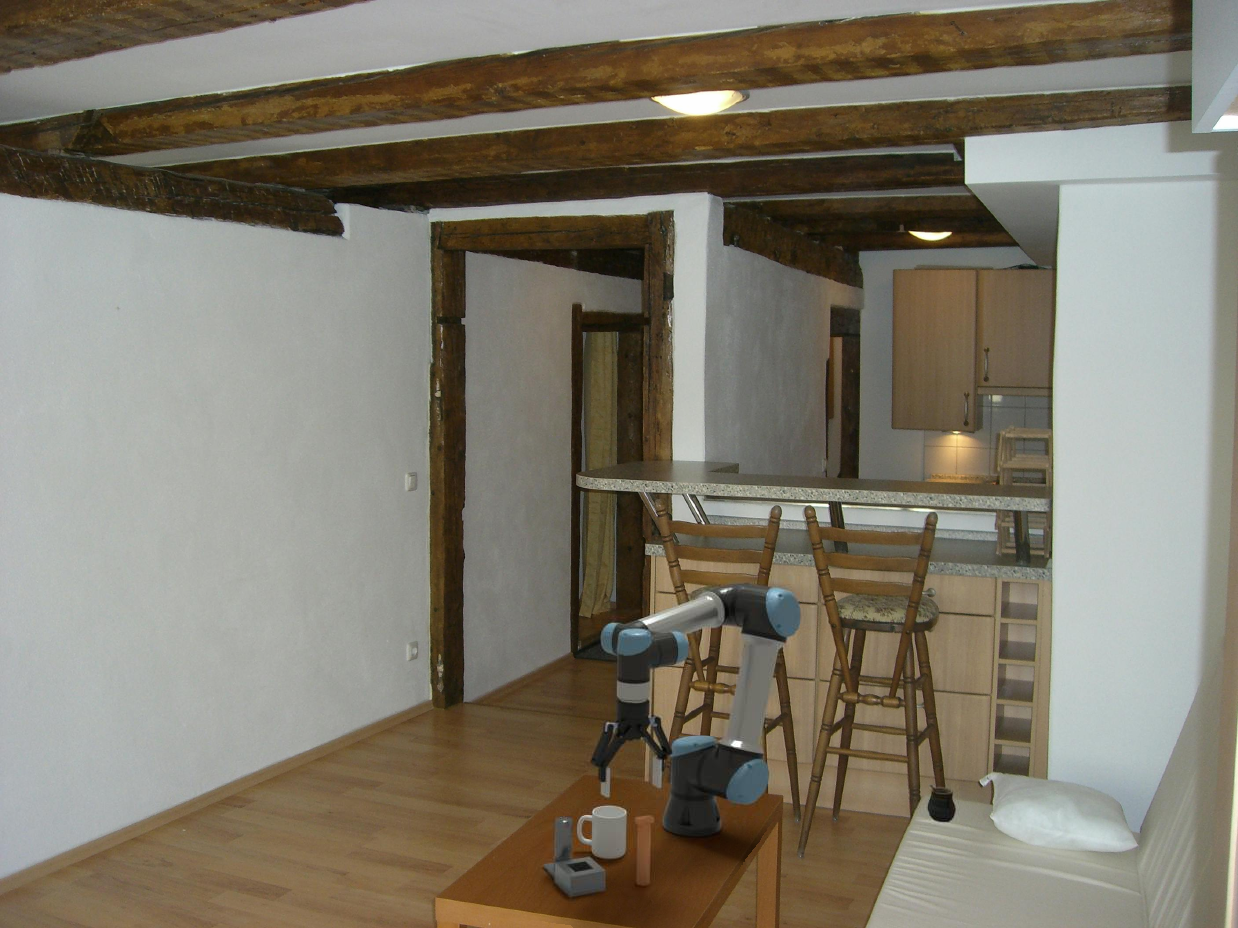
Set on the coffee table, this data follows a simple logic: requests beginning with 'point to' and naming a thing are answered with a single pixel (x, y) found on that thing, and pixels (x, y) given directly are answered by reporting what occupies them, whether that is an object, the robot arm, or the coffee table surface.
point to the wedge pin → (643, 849)
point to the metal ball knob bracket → (573, 865)
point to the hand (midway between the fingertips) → (631, 790)
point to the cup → (606, 831)
